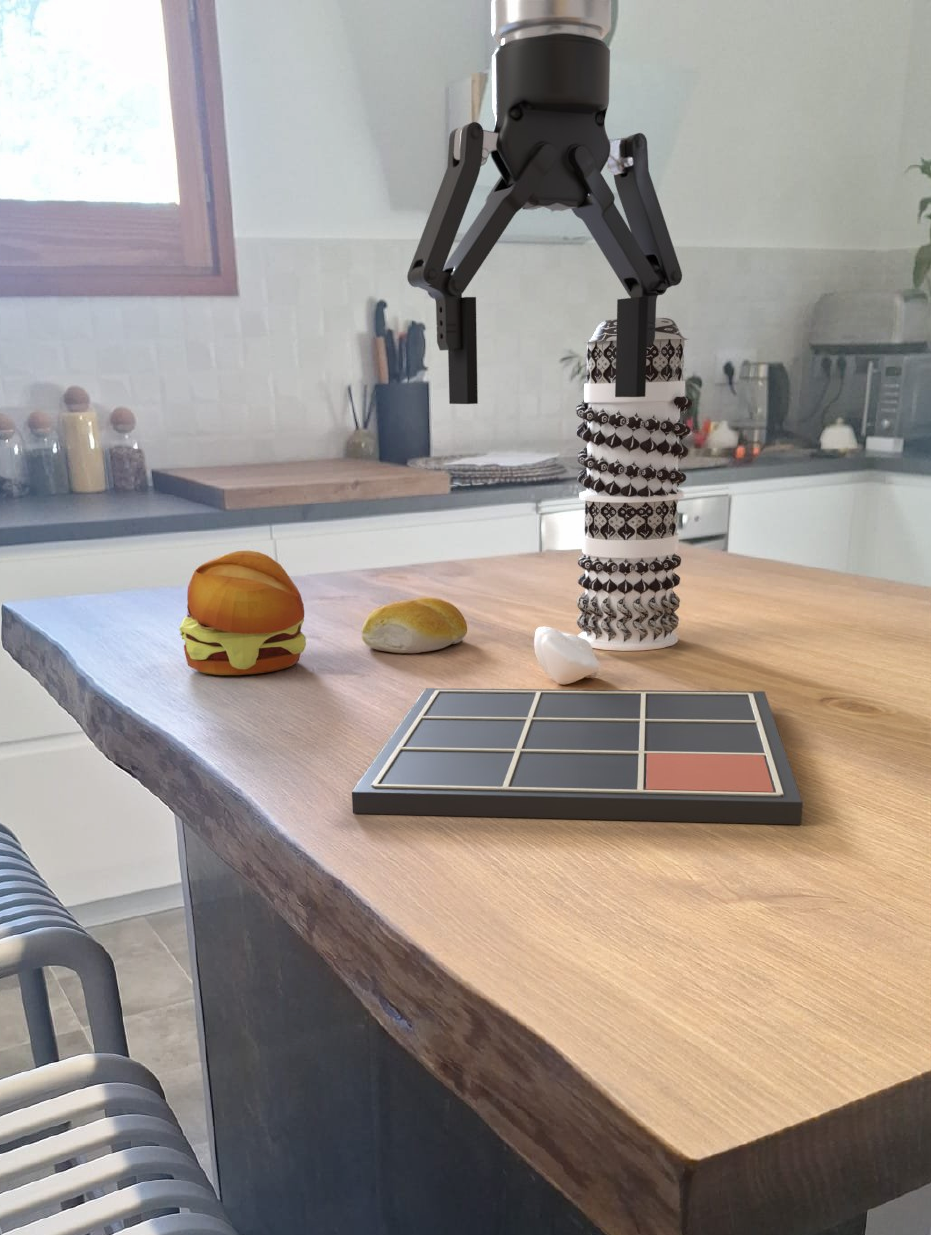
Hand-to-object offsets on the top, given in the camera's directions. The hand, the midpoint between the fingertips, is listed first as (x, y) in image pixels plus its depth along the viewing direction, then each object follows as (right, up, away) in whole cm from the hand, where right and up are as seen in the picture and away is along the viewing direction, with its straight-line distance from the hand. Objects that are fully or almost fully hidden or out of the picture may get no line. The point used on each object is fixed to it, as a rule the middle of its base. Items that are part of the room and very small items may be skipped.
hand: (549, 401), depth 86 cm
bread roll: (-10, -14, +20) cm, 26 cm away
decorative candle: (+8, -14, +19) cm, 24 cm away
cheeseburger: (-23, -17, +13) cm, 31 cm away
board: (+1, -26, -12) cm, 29 cm away
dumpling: (+2, -19, +5) cm, 20 cm away
